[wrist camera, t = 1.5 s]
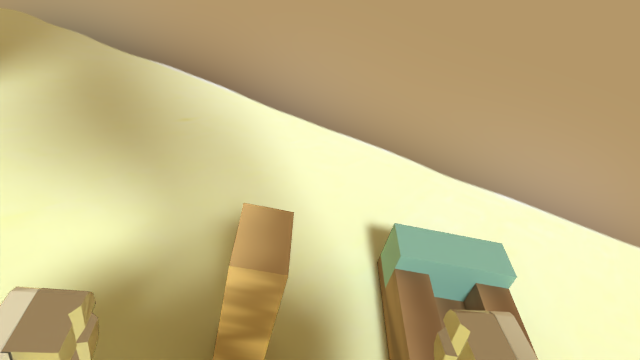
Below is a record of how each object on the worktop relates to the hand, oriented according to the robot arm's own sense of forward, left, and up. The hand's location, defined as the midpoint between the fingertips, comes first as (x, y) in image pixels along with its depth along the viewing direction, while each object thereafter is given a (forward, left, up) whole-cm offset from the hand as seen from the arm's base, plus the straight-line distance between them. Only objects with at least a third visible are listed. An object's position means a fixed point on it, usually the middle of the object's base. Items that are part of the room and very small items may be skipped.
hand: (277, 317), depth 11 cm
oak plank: (0, +12, -21) cm, 24 cm away
